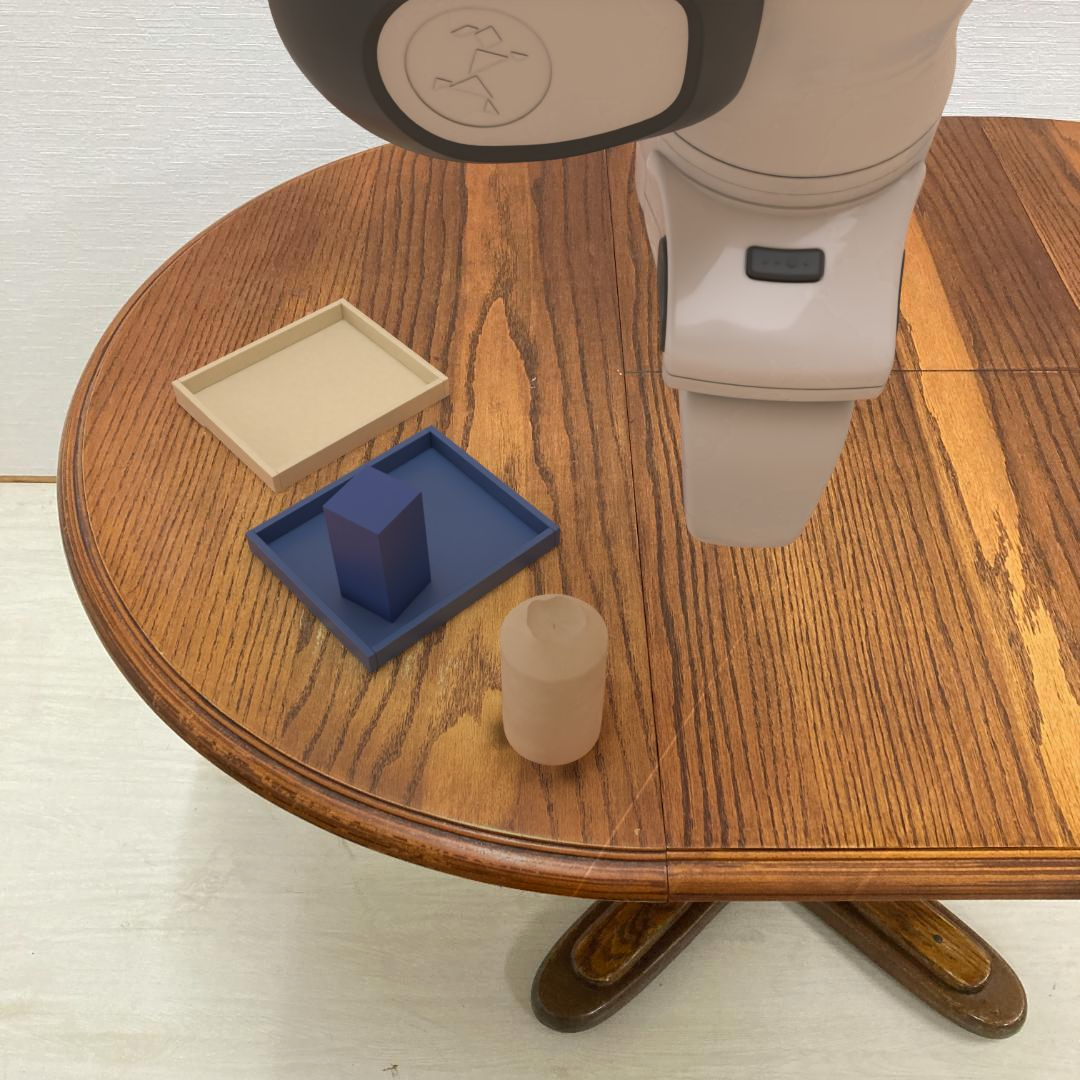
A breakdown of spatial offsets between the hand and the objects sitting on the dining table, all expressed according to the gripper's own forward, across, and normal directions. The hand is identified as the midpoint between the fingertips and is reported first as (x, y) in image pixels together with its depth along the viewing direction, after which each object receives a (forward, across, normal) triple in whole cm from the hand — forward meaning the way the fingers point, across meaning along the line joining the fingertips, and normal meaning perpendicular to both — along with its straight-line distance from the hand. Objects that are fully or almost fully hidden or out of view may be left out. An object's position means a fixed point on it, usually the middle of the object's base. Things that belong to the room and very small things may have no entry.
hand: (728, 388), depth 47 cm
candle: (+21, +9, -7) cm, 24 cm away
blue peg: (+23, +1, -18) cm, 29 cm away
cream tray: (+28, -16, -27) cm, 42 cm away
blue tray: (+24, -3, -18) cm, 30 cm away
